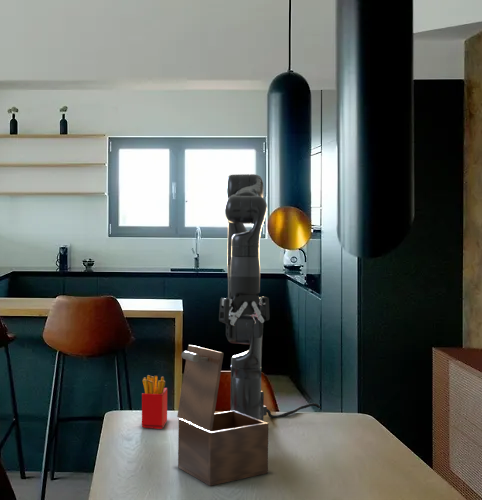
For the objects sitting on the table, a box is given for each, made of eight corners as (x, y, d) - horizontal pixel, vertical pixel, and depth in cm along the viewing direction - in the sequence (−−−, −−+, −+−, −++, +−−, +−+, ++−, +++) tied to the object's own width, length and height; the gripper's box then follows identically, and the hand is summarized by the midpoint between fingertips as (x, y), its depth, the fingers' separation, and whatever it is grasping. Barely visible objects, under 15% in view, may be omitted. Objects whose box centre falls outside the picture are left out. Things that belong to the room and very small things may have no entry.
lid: (191, 344, 154) (173, 342, 151) (223, 353, 142) (205, 350, 139) (179, 416, 152) (161, 415, 150) (212, 431, 140) (193, 430, 138)
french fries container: (139, 428, 185) (140, 380, 185) (145, 420, 194) (145, 374, 194) (163, 429, 184) (163, 381, 184) (168, 421, 193) (168, 375, 193)
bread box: (233, 456, 161) (234, 410, 161) (268, 473, 149) (268, 423, 149) (177, 467, 152) (178, 418, 152) (209, 486, 140) (210, 433, 140)
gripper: (231, 275, 153) (230, 342, 153) (276, 274, 160) (275, 338, 160) (213, 274, 159) (212, 338, 159) (257, 273, 167) (257, 335, 167)
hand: (244, 338), depth 160 cm, fingers open, 8 cm apart
